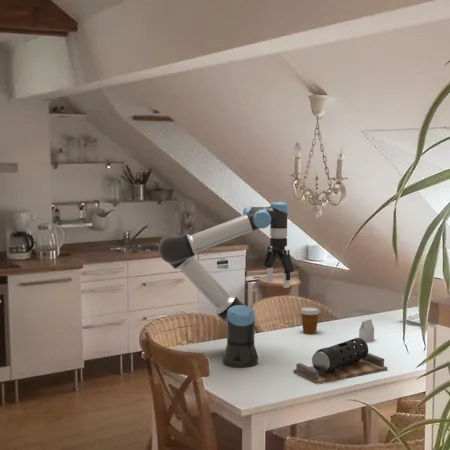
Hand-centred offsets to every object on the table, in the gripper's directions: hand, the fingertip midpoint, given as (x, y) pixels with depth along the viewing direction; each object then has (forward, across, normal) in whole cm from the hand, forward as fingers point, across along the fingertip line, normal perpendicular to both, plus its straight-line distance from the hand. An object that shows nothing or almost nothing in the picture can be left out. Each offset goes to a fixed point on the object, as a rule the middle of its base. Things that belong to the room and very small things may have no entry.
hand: (277, 284), depth 305 cm
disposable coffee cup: (+31, +20, -33) cm, 49 cm away
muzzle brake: (+30, -35, -8) cm, 46 cm away
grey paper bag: (+31, -5, -48) cm, 57 cm away
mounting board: (+31, -35, -8) cm, 47 cm away
